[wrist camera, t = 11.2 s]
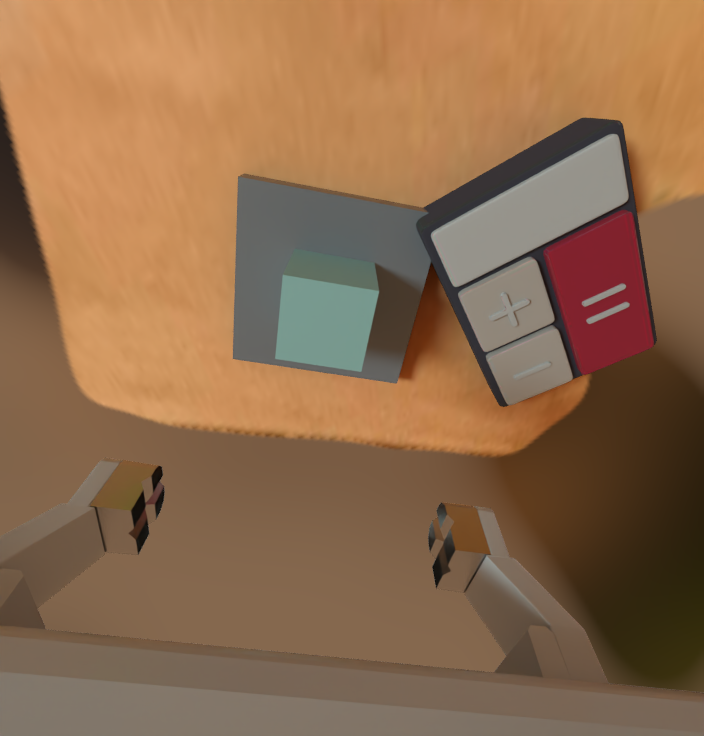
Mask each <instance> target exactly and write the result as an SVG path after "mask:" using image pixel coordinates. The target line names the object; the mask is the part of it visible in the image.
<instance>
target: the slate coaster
mask: <svg viewBox="0 0 704 736" xmlns="http://www.w3.org/2000/svg"><path fill="white" fill-rule="evenodd" d="M428 213H429V212H428V211H426V210H425V209H424V208H421V207H416V206H410V205H405V204H400V203H395V202H390V201H384V200H379V199H374V198H369V197H363V196H358V195H353V194H348V193H342V192H337V191H332V190H327V189H321V188H316V187H311V186H306V185H301V184H295V183H290V182H285V181H280V180H274V179H269V178H264V177H259V176H253V175H248V174H243V175H240V176H238V200H237V234H236V269H235V303H234V338H233V359H237V360H244V361H250V362H257V363H264V364H270V365H277V366H284V367H290V368H297V369H304V370H310V371H317V372H324V373H330V374H337V375H344V376H350V377H357V378H364V379H370V380H377V381H384V382H390V383H397V381H398V378H399V374H400V371H401V367H402V363H403V360H404V356H405V353H406V349H407V346H408V342H409V338H410V335H411V331H412V328H413V324H414V321H415V317H416V313H417V310H418V306H419V303H420V299H421V296H422V292H423V288H424V285H425V281H426V278H427V274H428V271H429V267H430V264H431V259H430V257H429V255H428V253H427V250H426V248H425V246H424V244H423V242H422V240H421V238H420V235H419V233H418V231H417V228H416V223H417V221H418V220H419V219H420V218H421V217H423V216H425V215H426V214H428ZM294 249H299V250H305V251H310V252H316V253H322V254H327V255H333V256H339V257H344V258H350V259H356V260H361V261H367V262H373V263H375V268H376V275H377V281H378V287H379V294H378V299H377V303H376V308H375V312H374V317H373V321H372V326H371V330H370V335H369V339H368V344H367V348H366V353H365V357H364V362H363V366H362V371H361V372H359V371H352V370H345V369H339V368H332V367H326V366H319V365H312V364H306V363H299V362H292V361H286V360H279V359H275V355H276V344H277V333H278V322H279V311H280V300H281V289H282V278H283V273H284V271H285V269H286V267H287V265H288V262H289V260H290V258H291V256H292V254H293V252H294Z"/></svg>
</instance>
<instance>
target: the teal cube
mask: <svg viewBox="0 0 704 736" xmlns="http://www.w3.org/2000/svg"><path fill="white" fill-rule="evenodd" d="M378 294H379V287H378V281H377V275H376V268H375V263H373V262H367V261H361V260H356V259H350V258H344V257H339V256H333V255H327V254H322V253H316V252H310V251H305V250H299V249H294V252H293V254H292V256H291V258H290V260H289V262H288V265H287V267H286V269H285V271H284V273H283V278H282V289H281V300H280V311H279V322H278V333H277V344H276V355H275V359H279V360H286V361H292V362H299V363H306V364H312V365H319V366H326V367H332V368H339V369H345V370H352V371H359V372H361V371H362V366H363V362H364V357H365V353H366V348H367V344H368V339H369V335H370V330H371V326H372V321H373V317H374V312H375V308H376V303H377V299H378Z"/></svg>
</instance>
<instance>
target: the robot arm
mask: <svg viewBox="0 0 704 736" xmlns="http://www.w3.org/2000/svg"><path fill="white" fill-rule="evenodd" d="M162 476H163V471H162V467H161V466H158V465H151V464H144V463H139V462H132V461H126V460H118V459H111V458H104V459H103V460H101V461H100V462H99V463H98V464H97V465H96V467H95V468H94V469H93V471H92V472H91V473H90V475H89V476H88V477H87V479H86V480H85V481H84V483H83V484H82V485H81V487H80V488H79V489H78V491H77V492H76V493H75V494H74V496H73V497H72V498H71V500H70V501H69V502H68V504H59V505H58V506H56V507H54V508H52V509H50V510H48V511H47V512H45V513H43V514H41V515H39V516H37V517H35V518H34V519H32V520H30V521H28V522H26V523H25V524H23V525H21V526H19V527H17V528H15V529H13V530H12V531H10V532H8V533H6V534H4V535H2V536H0V736H704V693H703V692H692V691H682V690H672V689H671V690H670V689H661V688H651V687H640V686H630V685H618V684H609V683H608V682H607V679H606V677H605V675H604V673H603V671H602V668H601V666H600V663H599V661H598V659H597V657H596V655H595V652H594V650H593V648H592V646H591V643H590V641H589V639H588V637H587V634H586V633H585V630H584V629H583V628H582V627H581V626H580V625H579V624H578V623H577V622H576V621H575V620H574V619H573V618H572V617H571V616H570V614H569V613H568V612H567V611H566V610H565V609H564V608H563V607H562V606H561V605H560V604H559V603H558V602H557V601H556V600H555V599H554V598H553V597H552V596H551V595H550V594H549V593H548V592H547V591H546V590H545V589H544V588H543V587H542V586H541V585H540V584H539V583H538V582H537V581H536V580H535V579H534V578H533V577H532V576H531V575H530V574H529V572H527V570H526V569H525V568H524V567H523V566H522V565H521V564H520V563H519V562H518V561H517V560H516V559H515V558H510V557H509V554H508V551H507V548H506V545H505V543H504V540H503V537H502V535H501V532H500V529H499V526H498V523H497V521H496V518H495V515H494V512H493V511H492V509H490V508H483V507H473V506H468V505H460V504H452V503H441V504H440V505H439V506H438V508H437V515H438V517H437V518H435V519H434V520H432V523H431V525H430V528H429V536H428V542H429V550H430V553H431V554H432V556H433V557H434V558H435V559H436V560H435V562H434V564H433V567H432V568H433V574H434V579H435V585H436V589H441V590H448V591H455V592H463V593H465V596H466V597H467V599H468V601H469V602H470V603H471V605H472V606H473V608H474V609H475V611H476V612H477V614H478V615H479V617H480V618H481V620H482V621H483V622H484V624H485V625H486V627H487V628H488V630H489V631H490V633H491V634H492V636H493V637H494V639H495V640H496V642H497V643H498V644H499V646H500V647H501V649H502V650H503V652H504V653H505V655H506V657H505V659H504V660H503V661H502V663H501V664H500V665H499V667H498V668H497V669H496V670H495V672H484V671H483V672H482V671H473V670H463V669H452V668H441V667H432V666H421V665H411V664H401V663H400V664H399V663H390V662H380V661H370V660H359V659H349V658H339V657H328V656H318V655H307V654H296V653H287V652H276V651H265V650H256V649H244V648H235V647H224V646H213V645H203V644H193V643H182V642H172V641H161V640H150V639H141V638H140V639H139V638H130V637H120V636H110V635H99V634H89V633H78V632H67V631H56V630H47V629H45V625H44V623H43V620H42V618H41V616H40V613H39V611H38V609H37V608H39V607H40V606H41V605H42V604H44V603H45V602H46V601H47V600H49V599H50V598H51V597H52V596H54V595H55V594H56V593H57V592H59V591H60V590H61V589H62V588H64V587H65V586H66V585H67V584H68V583H70V582H71V581H72V580H74V579H75V578H76V577H77V576H79V575H80V574H81V573H82V572H84V571H85V570H86V569H87V568H88V567H90V566H91V565H92V564H94V563H95V562H96V561H97V560H99V559H100V558H101V557H102V556H104V555H105V552H108V553H119V554H131V555H139V552H140V551H141V549H142V547H143V545H144V543H145V541H146V539H147V537H148V535H149V527H148V525H149V524H150V523H152V522H153V521H155V520H156V519H157V517H158V515H159V513H160V511H161V508H162V504H163V501H164V493H165V491H164V486H163V485H162V483H161V482H160V480H161V478H162Z"/></svg>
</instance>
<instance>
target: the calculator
mask: <svg viewBox="0 0 704 736" xmlns="http://www.w3.org/2000/svg"><path fill="white" fill-rule="evenodd" d="M424 209H425V210H426V211H428V212H429V213H428V214H426V215H425V216H423V217H421V218H420V219H419V220H418V221H417V223H416V228H417V231H418V233H419V235H420V238H421V240H422V242H423V244H424V246H425V248H426V250H427V253H428V255H429V257H430V259H431V263H432V265H433V267H434V269H435V271H436V273H437V275H438V277H439V280H440V282H441V284H442V286H443V288H444V290H445V292H446V295H447V297H448V299H449V301H450V303H451V305H452V307H453V310H454V312H455V314H456V316H457V318H458V320H459V323H460V325H461V327H462V329H463V331H464V333H465V335H466V338H467V340H468V342H469V344H470V346H471V348H472V351H473V353H474V355H475V357H476V359H477V361H478V363H479V366H480V368H481V370H482V372H483V374H484V376H485V378H486V381H487V383H488V385H489V387H490V389H491V391H492V392H493V394H494V396H495V398H496V400H497V402H498V404H499V405H500V406H503V407H505V406H508V405H513V404H516V403H518V402H521V401H523V400H525V399H528V398H530V397H533V396H535V395H538V394H540V393H543V392H545V391H548V390H550V389H552V388H555V387H557V386H560V385H562V384H565V383H567V382H569V381H571V380H572V379H574V378H577V377H579V376H582V375H586V374H589V373H592V372H594V371H596V370H599V369H601V368H604V367H606V366H609V365H611V364H613V363H616V362H618V361H621V360H623V359H626V358H628V357H630V356H633V355H636V354H638V353H640V352H643V351H645V350H648V349H649V348H651V347H653V345H655V343H656V341H657V340H656V339H657V338H656V332H655V325H654V319H653V312H652V306H651V300H650V294H649V287H648V281H647V274H646V268H645V262H644V255H643V249H642V243H641V236H640V230H639V223H638V217H637V211H636V204H635V198H634V192H633V185H632V179H631V173H630V166H629V160H628V154H627V147H626V141H625V135H624V129H623V125H622V123H621V122H620V121H617V120H607V119H595V118H581V119H579V120H577V121H575V122H573V123H572V124H570V125H568V126H566V127H565V128H563V129H561V130H559V131H558V132H556V133H554V134H552V135H551V136H549V137H547V138H545V139H544V140H542V141H540V142H538V143H536V144H535V145H533V146H531V147H529V148H528V149H526V150H524V151H522V152H521V153H519V154H517V155H515V156H514V157H512V158H510V159H508V160H507V161H505V162H503V163H501V164H500V165H498V166H496V167H494V168H493V169H491V170H489V171H487V172H485V173H484V174H482V175H480V176H478V177H477V178H475V179H473V180H471V181H470V182H468V183H466V184H464V185H463V186H461V187H459V188H457V189H456V190H454V191H452V192H450V193H449V194H447V195H445V196H443V197H442V198H440V199H438V200H436V201H435V202H433V203H431V204H429V205H427V206H426V207H424Z"/></svg>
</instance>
